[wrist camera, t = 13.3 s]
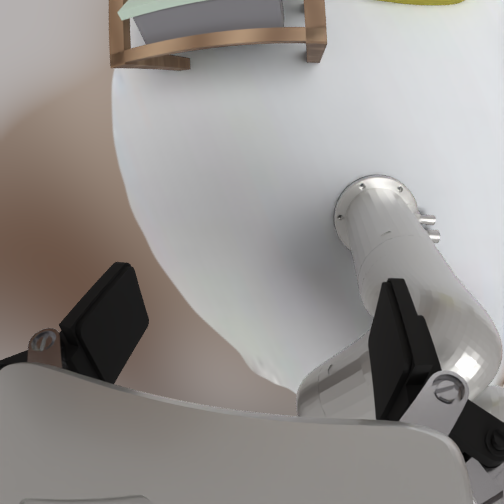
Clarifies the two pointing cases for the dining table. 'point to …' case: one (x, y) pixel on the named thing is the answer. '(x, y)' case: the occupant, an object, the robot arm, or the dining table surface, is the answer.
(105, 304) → the robot arm
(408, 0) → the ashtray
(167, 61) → the frame
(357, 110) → the dining table surface
